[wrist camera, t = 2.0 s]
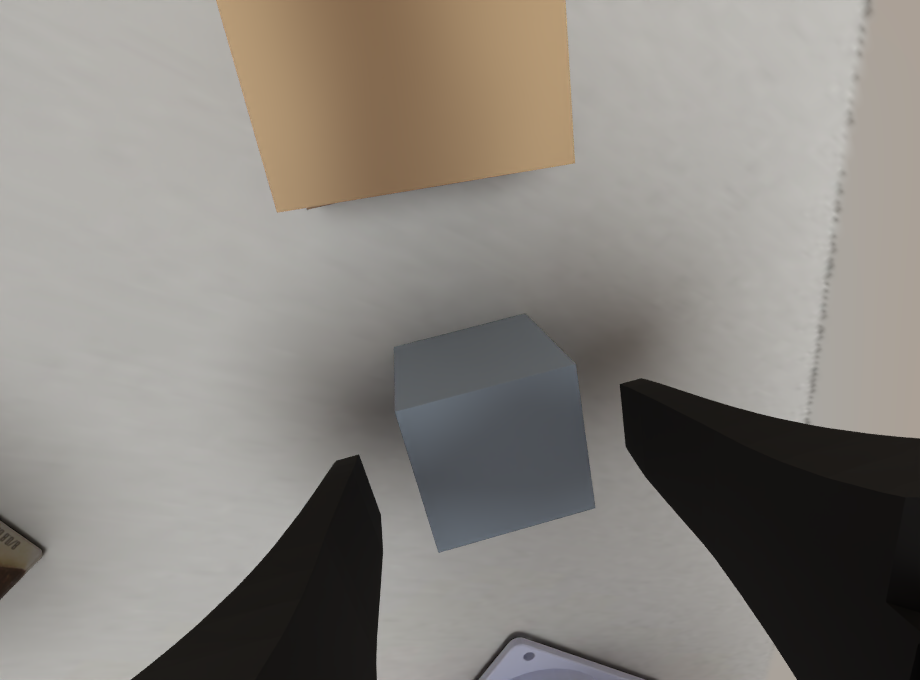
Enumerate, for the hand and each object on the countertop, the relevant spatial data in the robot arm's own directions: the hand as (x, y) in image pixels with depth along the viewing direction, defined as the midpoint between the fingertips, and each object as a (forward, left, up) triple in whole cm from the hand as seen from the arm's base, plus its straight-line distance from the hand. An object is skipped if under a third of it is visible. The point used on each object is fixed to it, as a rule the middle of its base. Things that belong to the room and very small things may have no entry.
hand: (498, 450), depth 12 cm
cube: (0, 0, -4) cm, 4 cm away
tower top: (+7, -7, -2) cm, 10 cm away
